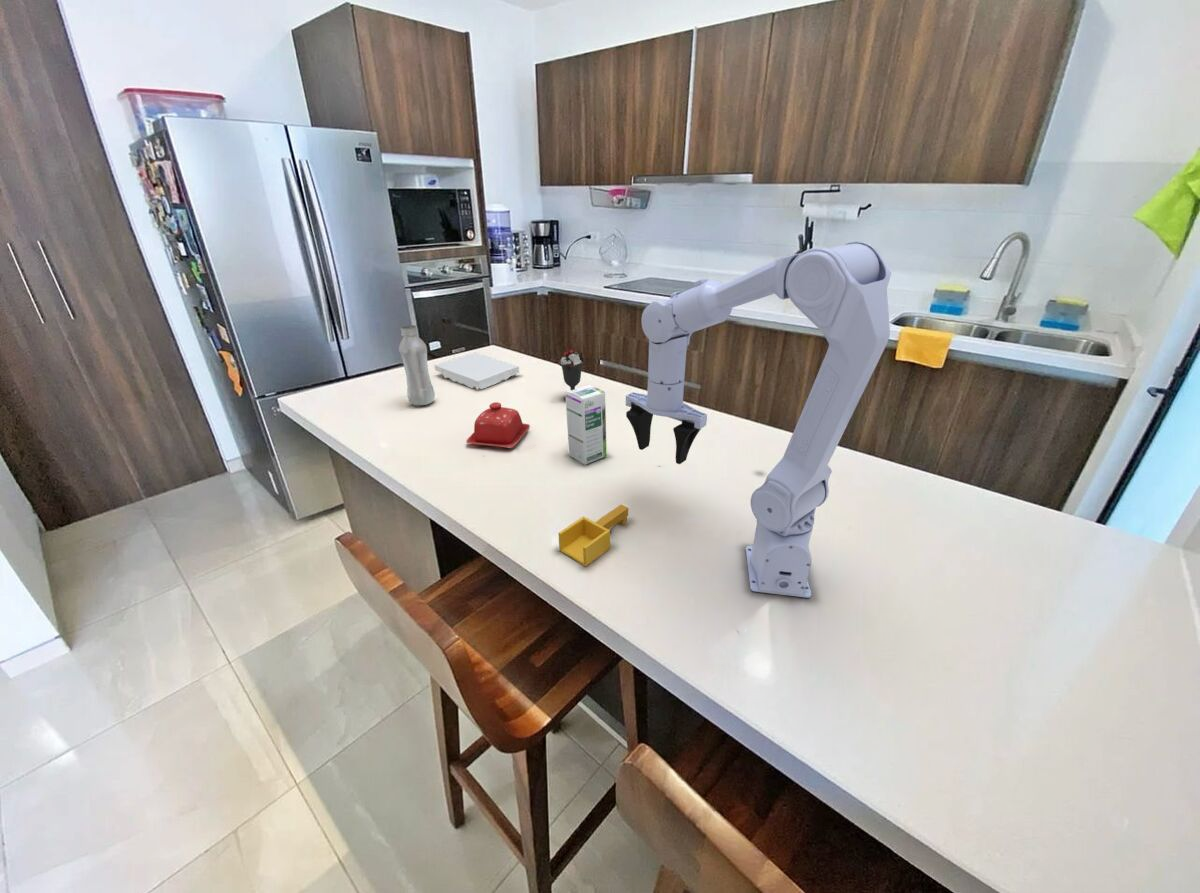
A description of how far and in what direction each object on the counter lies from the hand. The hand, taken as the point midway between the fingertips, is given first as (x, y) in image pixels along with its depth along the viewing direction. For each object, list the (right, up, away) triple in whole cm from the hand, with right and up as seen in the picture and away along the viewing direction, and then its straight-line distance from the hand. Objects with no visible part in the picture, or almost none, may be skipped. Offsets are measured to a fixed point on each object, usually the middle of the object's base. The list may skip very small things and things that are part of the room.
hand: (662, 454), depth 84 cm
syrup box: (-13, -1, +19) cm, 23 cm away
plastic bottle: (-57, +12, +45) cm, 74 cm away
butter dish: (-33, +3, +27) cm, 43 cm away
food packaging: (-47, +22, +63) cm, 82 cm away
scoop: (-11, -13, -5) cm, 18 cm away
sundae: (-18, +14, +47) cm, 52 cm away
